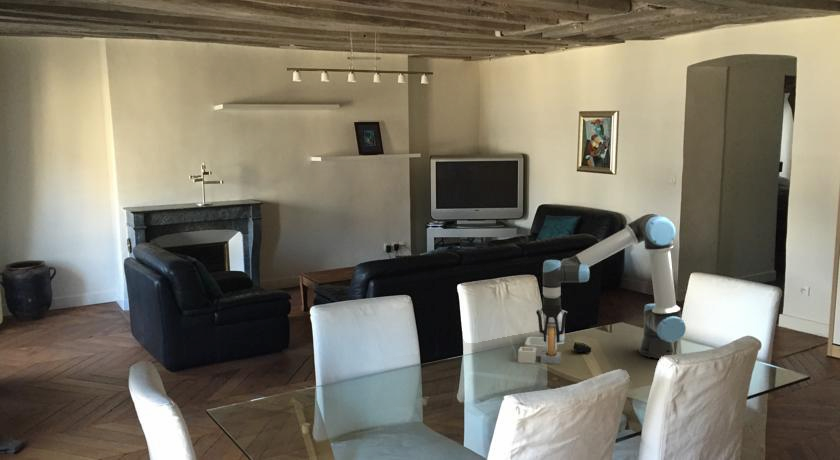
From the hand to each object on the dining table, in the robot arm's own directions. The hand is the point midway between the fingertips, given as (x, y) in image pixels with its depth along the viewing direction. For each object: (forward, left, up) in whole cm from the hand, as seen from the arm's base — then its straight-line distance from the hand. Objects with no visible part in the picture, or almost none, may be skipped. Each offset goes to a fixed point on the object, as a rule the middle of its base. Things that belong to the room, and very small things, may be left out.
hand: (551, 349), depth 313 cm
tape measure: (-12, -12, -5) cm, 17 cm away
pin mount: (0, 0, -5) cm, 5 cm away
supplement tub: (+1, -27, -5) cm, 27 cm away
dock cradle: (+5, -12, -5) cm, 14 cm away
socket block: (+10, +2, -5) cm, 12 cm away
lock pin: (0, 0, -5) cm, 5 cm away
